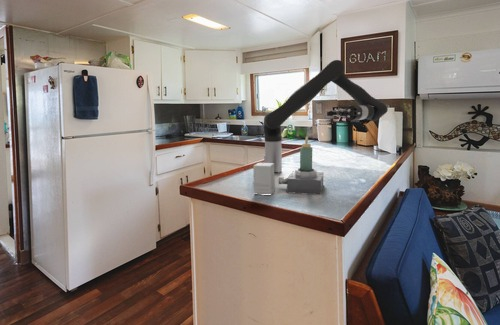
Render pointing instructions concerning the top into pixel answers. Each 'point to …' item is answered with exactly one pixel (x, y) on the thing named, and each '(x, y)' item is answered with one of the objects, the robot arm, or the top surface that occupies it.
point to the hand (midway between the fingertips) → (334, 113)
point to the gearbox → (304, 182)
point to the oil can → (306, 157)
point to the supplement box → (264, 178)
